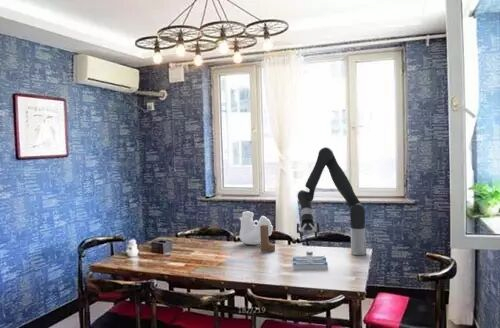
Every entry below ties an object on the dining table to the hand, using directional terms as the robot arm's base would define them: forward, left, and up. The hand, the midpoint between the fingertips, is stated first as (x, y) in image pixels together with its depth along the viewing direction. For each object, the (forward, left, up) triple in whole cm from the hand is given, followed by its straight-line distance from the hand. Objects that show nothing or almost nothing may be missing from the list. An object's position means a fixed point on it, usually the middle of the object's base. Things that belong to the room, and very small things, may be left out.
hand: (308, 238), depth 257 cm
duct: (0, +4, -15) cm, 16 cm away
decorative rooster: (+37, -48, -15) cm, 62 cm away
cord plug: (0, +10, -15) cm, 18 cm away
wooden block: (+27, -28, -15) cm, 42 cm away
